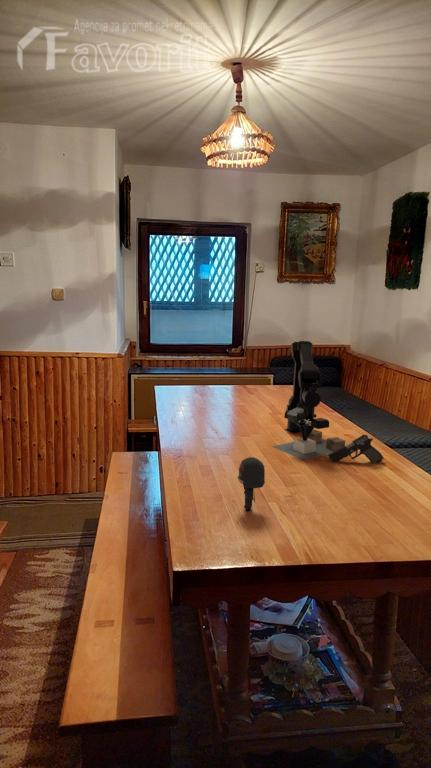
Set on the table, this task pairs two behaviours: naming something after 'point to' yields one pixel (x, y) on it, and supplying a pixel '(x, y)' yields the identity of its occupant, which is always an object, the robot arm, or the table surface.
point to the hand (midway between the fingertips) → (304, 440)
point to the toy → (251, 478)
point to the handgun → (358, 444)
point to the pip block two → (334, 443)
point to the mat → (319, 451)
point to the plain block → (304, 445)
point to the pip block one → (315, 436)
